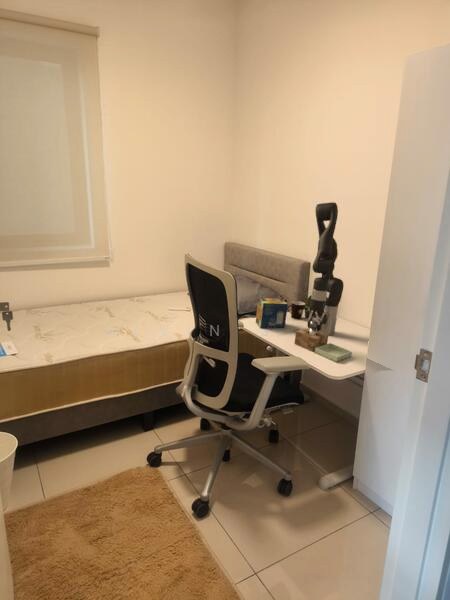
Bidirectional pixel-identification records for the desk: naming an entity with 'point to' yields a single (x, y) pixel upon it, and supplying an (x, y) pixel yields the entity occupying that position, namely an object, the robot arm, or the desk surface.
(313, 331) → the steel pin
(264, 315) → the protein box
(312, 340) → the brown wooden block
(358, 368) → the desk surface
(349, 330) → the desk surface
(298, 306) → the coffee mug
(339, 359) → the sage tray
